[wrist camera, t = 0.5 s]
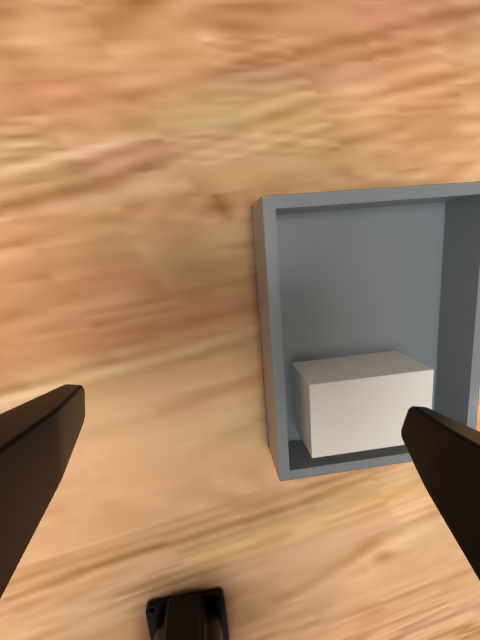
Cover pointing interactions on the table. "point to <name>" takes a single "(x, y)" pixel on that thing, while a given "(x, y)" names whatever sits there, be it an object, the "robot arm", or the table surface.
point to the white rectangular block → (357, 400)
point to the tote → (367, 299)
